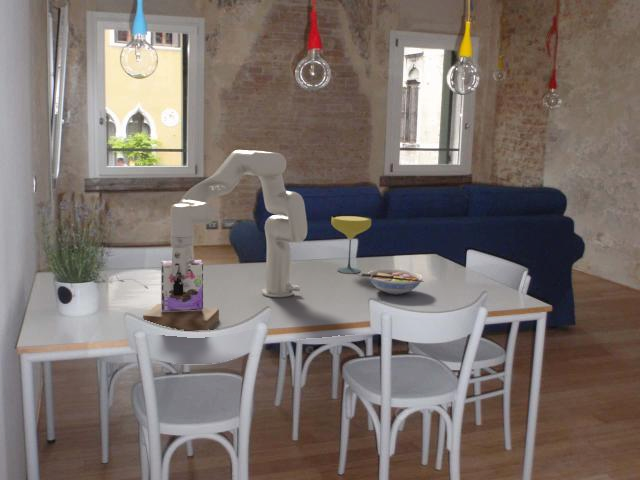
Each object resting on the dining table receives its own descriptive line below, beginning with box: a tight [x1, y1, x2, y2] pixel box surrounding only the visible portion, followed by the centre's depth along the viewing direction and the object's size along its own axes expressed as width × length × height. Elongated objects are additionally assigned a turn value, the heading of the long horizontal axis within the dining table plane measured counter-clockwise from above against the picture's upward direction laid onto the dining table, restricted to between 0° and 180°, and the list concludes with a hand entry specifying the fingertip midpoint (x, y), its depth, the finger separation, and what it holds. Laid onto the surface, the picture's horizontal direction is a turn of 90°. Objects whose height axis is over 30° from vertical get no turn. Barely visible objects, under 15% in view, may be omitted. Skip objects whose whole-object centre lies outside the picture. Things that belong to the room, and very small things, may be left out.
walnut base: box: [142, 303, 220, 331], centre depth 242 cm, size 22×14×4 cm, turn 82°
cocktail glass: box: [330, 213, 372, 274], centre depth 324 cm, size 18×18×25 cm
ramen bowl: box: [360, 268, 424, 296], centre depth 291 cm, size 25×23×8 cm
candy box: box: [160, 259, 204, 311], centre depth 239 cm, size 14×6×16 cm, turn 105°
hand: (182, 291), depth 240 cm, fingers closed on candy box, 7 cm apart
